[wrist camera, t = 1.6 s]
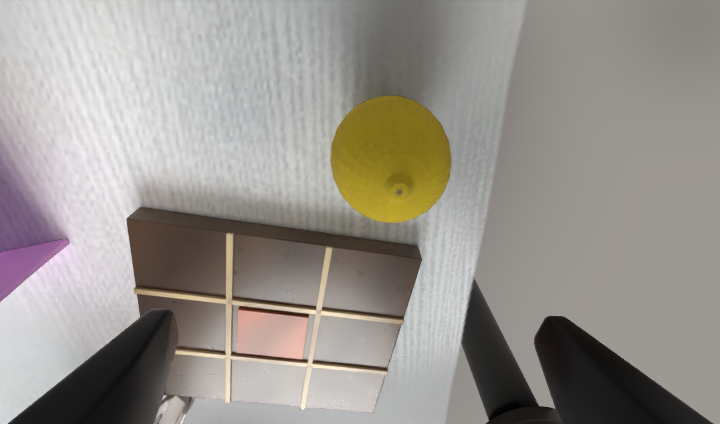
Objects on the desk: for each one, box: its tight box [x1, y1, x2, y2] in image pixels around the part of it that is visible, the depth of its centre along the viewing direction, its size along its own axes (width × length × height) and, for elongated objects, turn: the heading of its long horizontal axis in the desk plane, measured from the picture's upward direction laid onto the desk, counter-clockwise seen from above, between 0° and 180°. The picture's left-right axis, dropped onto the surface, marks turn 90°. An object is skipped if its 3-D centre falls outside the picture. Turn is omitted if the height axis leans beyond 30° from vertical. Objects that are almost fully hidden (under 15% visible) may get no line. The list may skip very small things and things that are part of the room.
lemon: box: [331, 96, 451, 223], centre depth 17 cm, size 6×6×8 cm
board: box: [126, 208, 422, 413], centre depth 26 cm, size 18×16×2 cm
